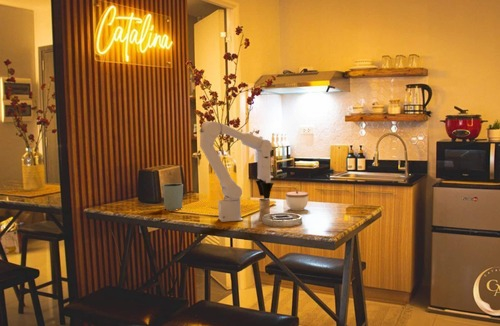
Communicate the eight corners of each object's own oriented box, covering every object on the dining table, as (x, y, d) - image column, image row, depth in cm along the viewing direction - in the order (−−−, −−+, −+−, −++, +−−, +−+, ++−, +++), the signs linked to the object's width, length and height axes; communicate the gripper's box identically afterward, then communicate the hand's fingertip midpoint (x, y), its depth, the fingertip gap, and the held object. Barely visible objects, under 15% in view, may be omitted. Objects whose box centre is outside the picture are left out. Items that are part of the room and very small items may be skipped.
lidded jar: (282, 208, 246) (282, 189, 245) (302, 206, 250) (302, 187, 249) (291, 212, 236) (291, 192, 235) (312, 210, 240) (312, 190, 239)
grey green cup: (185, 207, 255) (185, 183, 254) (181, 210, 245) (180, 186, 244) (165, 206, 256) (165, 183, 255) (160, 210, 246) (159, 186, 245)
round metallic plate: (268, 227, 205) (268, 221, 205) (259, 219, 221) (259, 214, 221) (306, 225, 209) (306, 219, 208) (294, 217, 224) (294, 211, 224)
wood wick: (261, 217, 226) (260, 199, 225) (259, 216, 228) (259, 198, 227) (269, 216, 227) (269, 199, 226) (268, 215, 229) (268, 198, 228)
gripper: (277, 167, 219) (277, 199, 220) (268, 164, 233) (269, 194, 235) (261, 168, 218) (261, 200, 219) (253, 165, 232) (254, 194, 233)
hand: (264, 197), depth 227 cm, fingers open, 7 cm apart
